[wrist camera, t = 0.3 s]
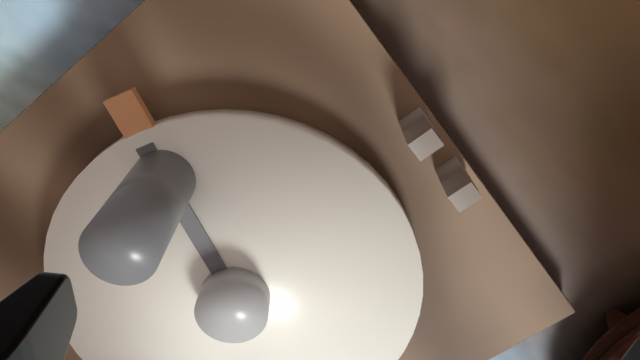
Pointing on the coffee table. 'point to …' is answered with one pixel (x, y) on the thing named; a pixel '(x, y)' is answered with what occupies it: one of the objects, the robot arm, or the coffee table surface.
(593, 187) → the coffee table surface
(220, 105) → the stand plate
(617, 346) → the wooden thread spool stand
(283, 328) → the dial
